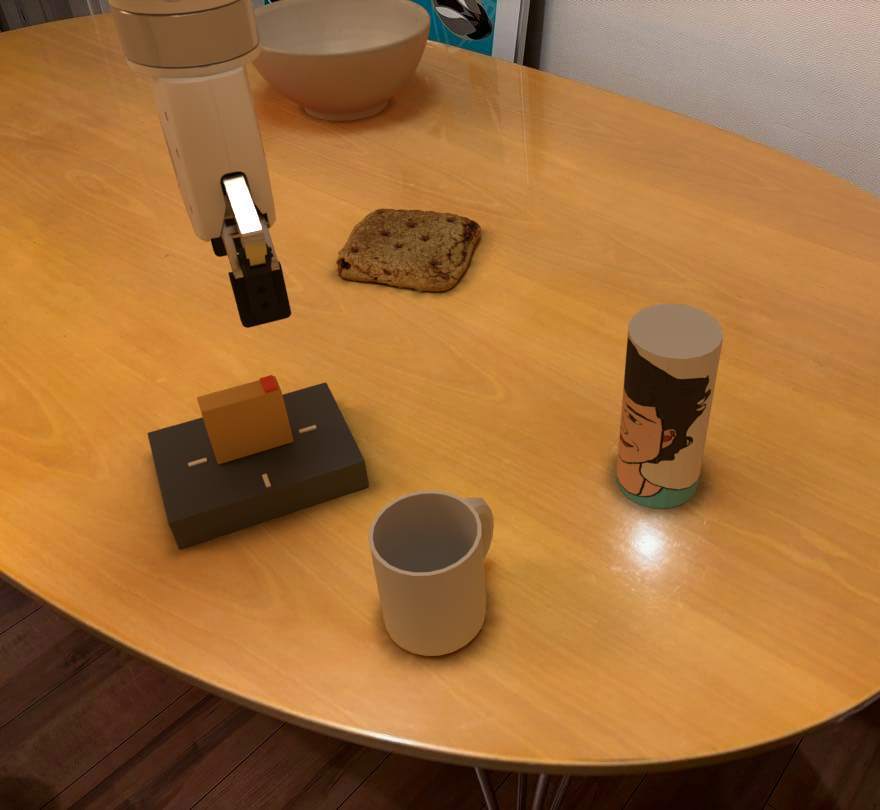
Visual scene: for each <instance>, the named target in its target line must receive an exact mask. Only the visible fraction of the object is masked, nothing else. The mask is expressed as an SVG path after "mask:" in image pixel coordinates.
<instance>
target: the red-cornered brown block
mask: <svg viewBox="0 0 880 810" xmlns="http://www.w3.org/2000/svg"><path fill="white" fill-rule="evenodd" d="M282 391H283V390H282V388H281V387H280V384H279V381H278V379H277V377H276V376H275V375H273V374H270V375H266V376H262V377H260V378H259V379H258V380H255V381H251V382H248V383H247V382H246V383H243V384H239V385H236V386H232V387H229V388H225V389H221V390H218V391H215V392H211V393H207V394H203V395H200V396H197V397H196V401H197V404H198V407H199V410H200V413H201V416H202V417H203V420H204V423H205V426H206V429H207V432H208V435H209V438H210V441H211V444H212V447H213V450H214V453H215V456H216V459H217V462H218V464H222V463H226V462H229V461H232V460H236V459H239V458H242V457H245V456H249V455H252V454H255V453H259V452H262V451H265V450H268V449H272V448H275V447H278V446H282V445H285V444H288V443H292V442H293V441H294V440H293V436H292V432H291V428H290V424H289V420H288V416H287V412H286V408H285V404H284V400H283V396H282V395H283V392H282ZM202 417H201V418H202Z"/></svg>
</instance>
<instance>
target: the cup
mask: <svg viewBox="0 0 880 810" xmlns="http://www.w3.org/2000/svg"><path fill="white" fill-rule="evenodd" d="M494 523H495V521H494V515H493V512H492V508H491V507H490V506H489V505H488V503H487V502H486V501H485V500H484V499H483V498H482V497H469V496H468V497H466V498H462V497H461V496H458V495H456V494H453V493H450V492H447V491H442V490H441V491H440V490H420V491H419V490H418V491H415V492H409V493H406V494H404V495H402V496H399V497H397V498H394V499H393V500H392V501H390V502H389V503H386V505H384V506H383V507H382V508H381V509H380V510H379V512H378V513H377V514H376V515H375V516H374V518H373V520H372V522H371V524H370V526H369V532H368V543H369V548H370V554H371V560H372V565H373V571H374V575H375V576H374V577H375V581H376V587H377V592H378V596H379V603H380V608H381V613H382V617H383V623H384V626H385V629H386V632H387V633H388V635H389V637H390V638H391V640H392V641H393V642H394V643H395V644H396V645H398V647H400V648H401V649H403V650H405V651H407V652H409V653H411V654H415V655H419V656H425V657H439V656H443V655H448V654H451V653H452V654H453V653H454V652H455V651H458V650H460V649H462V648H464V647H465V646H467V645H468V644H469V643H470V642H471V641H472V640H474V638H476V637H477V635H478V634H479V632H480V631H481V630H482V628H483V625H484V622H485V620H486V617H487V616H486V615H487V593H486V592H487V591H486V575H485V559H486V557H487V555H488V552H489V550H490V548H491V544H492V541H493V538H494V537H493V536H494V530H495V529H494V528H495V526H494V525H495V524H494Z"/></svg>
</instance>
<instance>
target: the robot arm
mask: <svg viewBox="0 0 880 810" xmlns="http://www.w3.org/2000/svg"><path fill="white" fill-rule="evenodd" d="M107 1H108V6H109V8H110V12H111V16H112V18H113V22H114V26H115V28H116V33H117V35H118V39H119V42H120V46H121V49H122V52H123V56H124V59H125V62H126V65H127V67H128V68H129V69H130V70H131V71H134V72H136V73H137V74H140V75H144V76H148V77H149V81H150V86H151V91H152V95H153V99H154V103H155V107H156V111H157V114H158V118H159V122H160V125H161V130H162V134H163V136H164V140H165V144H166V147H167V151H168V154H169V157H170V161H171V164H172V169H173V172H174V175H175V179H176V183H177V187H178V190H179V195H180V197H181V199H182V202H183V205H184V208H185V210H186V213H187V216H188V219H189V221H190V224H191V226H192V229H193V231H194V233H195V235H196V237H197V238H198V239H200V240H201V241H203V242H205V243H207V242H210V244H211V247H212V251H213V253H214V256H215V257H218V258H221V257H227V258H228V261H229V264H230V267H231V270H232V271H228V272H227V274H228V278H229V283H230V286H231V289H232V293H233V296H234V300H235V304H236V308H237V309H236V310H237V312H238V316H239V320H240V322H241V325H242V327H244V328H247V329H249V328H253V327H259V326H261V325H266V324H270V323H273V322H274V323H275V322H279V321H282V320H286V319H288V318H290V317H291V315H292V309H291V305H290V300H289V294H288V290H287V286H286V281H285V277H284V272H283V268H282V264H281V261H280V260H278V256H277V253H276V250H275V246H274V243H273V240H272V236H271V233H270V230H269V229H271V228H272V227H273V226H274V224H275V223H276V221H277V215H276V208H275V206H276V205H275V201H274V196H273V195H274V194H273V190H272V184H271V179H270V174H269V169H268V168H269V167H268V164H267V163H268V162H267V158H266V153H265V149H264V144H263V143H264V142H263V139H262V134H261V130H260V125H259V120H258V115H257V111H256V106H255V102H254V98H253V93H252V90H251V88H252V87H251V84H250V80H249V76H248V71H247V68H246V66H247V65H249V64H250V63H252V61H253V60H255V59H256V58H257V57H258V56H259V55H260V53H261V50H262V49H261V43H260V39H259V33H258V28H257V23H256V18H255V13H254V10H255V8H254V3H253V0H107Z"/></svg>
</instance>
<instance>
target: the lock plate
mask: <svg viewBox="0 0 880 810" xmlns="http://www.w3.org/2000/svg"><path fill="white" fill-rule="evenodd" d="M282 396H283V400H284V404H285V408H286V412H287V416H288V420H289V424H290V428H291V432H292V436H293V440H294V441H293V442H292V443H288V444H285V445H282V446H278V447H275V448H272V449H268V450H265V451H262V452H259V453H255V454H252V455H249V456H245V457H242V458H239V459H236V460H232V461H229V462H226V463H222V464H218V462H217V459H216V456H215V453H214V450H213V447H212V444H211V441H210V438H209V435H208V432H207V429H206V426H205V423H204V420H203V417H199V418H195V419H192V420H188V421H184V422H180V423H177V424H174V425H171V426H167V427H163V428H160V429H156V430H152V431H149V432H147V438H148V443H149V447H150V451H151V455H152V460H153V464H154V469H155V473H156V477H157V481H158V485H159V490H160V495H161V498H162V503H163V508H164V511H165V516H166V520H167V524H168V527H169V529H170V532H171V534H172V536H173V540H174V541H175V544H176V546H177V549H178V550H181V549H185V548H188V547H190V546H193V545H196V544H200V543H203V542H206V541H209V540H212V539H215V538H218V537H221V536H224V535H227V534H230V533H233V532H236V531H239V530H243V529H245V528H248V527H252V526H254V525H257V524H261V523H264V522H266V521H269V520H272V519H276V518H279V517H280V516H281V517H282V516H285V515H288V514H290V513H294V512H296V511H299V510H303V509H306V508H308V507H311V506H315V505H318V504H320V503H323V502H327V501H330V500H333V499H335V498H339V497H342V496H345V495H349V494H352V493H354V492H357V491H360V490H364V489H366V488H368V487H369V488H370V483H369V478H368V471H367V466H366V461H365V458H364V455H363V454H362V452H361V450H360V448H359V446H358V444H357V442H356V440H355V438H354V436H353V434H352V432H351V430H350V427H349V425H348V424H347V422H346V419H345V417H344V415H343V413H342V411H341V409H340V408H339V405H338V403H337V401H336V399H335V397H334V395H333V393H332V391H331V389H330V387H329V385H328V383H327V382H326V381H325V382H322V383H318V384H315V385H312V386H307V387H304V388H300V389H297V390H294V391H290V392H287V393H282Z"/></svg>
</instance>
